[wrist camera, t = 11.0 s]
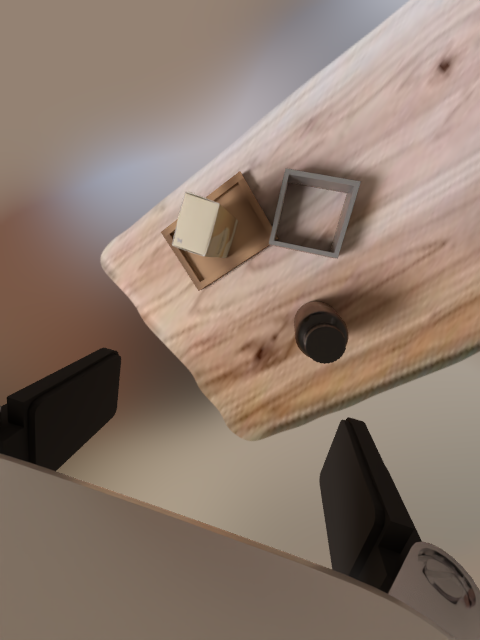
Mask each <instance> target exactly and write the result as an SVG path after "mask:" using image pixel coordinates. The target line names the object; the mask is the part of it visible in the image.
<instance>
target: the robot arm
mask: <svg viewBox="0 0 480 640" xmlns="http://www.w3.org/2000/svg"><path fill="white" fill-rule="evenodd" d="M120 365H121V357H120V356H119V355H118V352H117V351H114V350H111V349H107V348H102V349H99V350H97V351H95V352H93V353H91V354H89V355H88V356H86V357H84V358H82V359H80V360H78V361H76V362H74V363H72V364H70V365H68V366H66V367H64V368H62V369H60V370H58V371H56V372H54V373H53V374H50V375H49V376H47V377H45V378H43V379H41V380H39V381H37V382H35V383H33V384H31V385H29V386H27V387H25V388H23V389H21V390H19V391H17V392H15V393H13V394H12V395H10V396H8V397H7V404H5V405H3V406H0V640H480V590H479V588H478V587H477V585H476V584H475V582H474V581H473V579H472V577H471V576H470V575H469V574H468V573H467V572H466V570H465V569H464V568H463V567H462V566H461V565H460V564H459V563H458V562H457V561H456V560H455V559H454V558H453V557H452V556H450V555H449V554H448V553H446V552H445V551H443V550H442V549H440V548H439V547H437V546H435V545H433V544H430V543H426V542H422V541H421V539H420V537H419V535H418V533H417V530H416V528H415V526H414V524H413V522H412V520H411V518H410V516H409V514H408V512H407V509H406V507H405V505H404V503H403V501H402V499H401V497H400V495H399V492H398V490H397V488H396V486H395V484H394V482H393V480H392V478H391V476H390V473H389V471H388V470H387V468H386V466H385V465H384V463H383V461H382V458H381V456H380V454H379V452H378V450H377V448H376V446H375V443H374V441H373V439H372V437H371V435H370V433H369V431H368V429H367V427H366V424H365V423H364V422H363V421H359V420H356V419H352V418H347V419H346V420H341V422H340V424H339V427H338V429H337V432H336V435H335V437H334V439H333V442H332V445H331V447H330V450H329V452H328V455H327V458H326V460H325V463H324V466H323V468H322V470H321V473H320V489H321V496H322V503H323V509H324V516H325V522H326V529H327V536H328V543H329V549H330V556H331V563H332V569H329V568H326V567H323V566H321V565H318V564H316V563H313V562H310V561H308V560H305V559H303V558H300V557H297V556H295V555H292V554H289V553H287V552H284V551H281V550H278V549H275V548H273V547H269V546H267V545H264V544H261V543H259V542H256V541H253V540H250V539H248V538H244V537H242V536H239V535H236V534H234V533H231V532H228V531H225V530H222V529H220V528H217V527H214V526H211V525H208V524H206V523H203V522H200V521H197V520H194V519H191V518H188V517H186V516H183V515H180V514H177V513H174V512H171V511H169V510H166V509H163V508H160V507H157V506H154V505H152V504H149V503H145V502H143V501H140V500H137V499H134V498H132V497H128V496H126V495H123V494H120V493H117V492H114V491H111V490H108V489H106V488H103V487H100V486H97V485H94V484H91V483H88V482H85V481H82V480H79V479H76V478H74V477H71V476H68V475H65V474H62V473H59V472H56V470H57V469H59V468H60V467H61V466H62V465H63V464H64V463H65V462H66V461H67V460H68V459H69V458H70V457H71V456H72V455H73V454H74V453H75V452H76V451H77V450H79V449H80V448H81V447H82V446H83V445H84V444H85V443H86V442H87V441H88V440H89V439H90V438H91V437H92V436H93V435H95V434H96V433H97V432H98V431H99V430H100V429H101V428H102V427H103V426H104V425H105V424H106V423H107V422H108V421H109V420H110V419H111V418H112V417H113V416H114V415H115V413H116V409H117V400H118V389H119V376H120Z"/></svg>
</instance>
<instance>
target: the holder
mask: <svg viewBox="0 0 480 640" xmlns="http://www.w3.org/2000/svg"><path fill="white" fill-rule="evenodd" d="M288 183H294V184H300V185H305V186H311V187H316V188H322V189H327V190H333V191H338V192H344V193H347V195H346V199H345V202H344V205H343V209H342V212H341V216H340V219H339V223H338V226H337V229H336V233H335V236H334V240H333V243H332V247H331V250H330V252H327V251H322V250H317V249H312V248H307V247H303V246H298V245H293V244H288V243H283V242H278V241H275V237H276V234H277V230H278V226H279V221H280V217H281V213H282V208H283V204H284V200H285V195H286V191H287V187H288ZM360 183H361V181H355V180H349V179H344V178H338V177H332V176H326V175H321V174H315V173H309V172H303V171H298V170H292V169H285V173H284V178H283V182H282V187H281V191H280V196H279V200H278V204H277V209H276V213H275V218H274V222H273V227H272V231H271V236H270V240H269V245H272V246H277V247H282V248H286V249H291V250H296V251H301V252H306V253H310V254H315V255H320V256H325V257H330V258H338V256H339V252H340V249H341V246H342V242H343V239H344V236H345V232H346V229H347V226H348V222H349V219H350V216H351V212H352V209H353V206H354V202H355V199H356V196H357V193H358V189H359V186H360Z"/></svg>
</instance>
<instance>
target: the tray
mask: <svg viewBox="0 0 480 640" xmlns="http://www.w3.org/2000/svg"><path fill="white" fill-rule="evenodd" d="M206 198H207V199H210V200H212V201H215V202H217V203H219V204H220V205H221V206H223V207H224V208H225V209H226V210H227V211H228V212H229V213H230V214H231V215H232V216H234V217H235V218H236V219H237V220H238V223H237V226H236V230H235V234H234V237H233V240H232V244H231V247H230V250H229V252H228V255H227V258H217V257H204V256H200V255H197V254H194V253H191V252H188V251H185V250H183V249H180V248H177V247H175V246H172V242H173V237H174V233H175V229H176V225H177V220H178V219H177V220H176V221H175V222H173V223H172V224H171V225H169V226H168V227H167V228H166V229H164V230H163V231H162V232H161V233H162V234H163V236H164V238H165V239H166V241H167V242H168V244H169V245H170V247H171V248H172V250H173V252H174V253H175V255H176V256H177V258H178V259H179V261H180V262H181V264H182V266H183V267H184V269H185V270H186V272H187V273H188V275H189V277H190V278H191V280H192V281H193V283H194V284H195V286H196V287H197V289H198V291H199V290H201V289H203V288H204V287H206V286H207V285H209V284H211V283H212V282H214V281H215V280H217V279H218V278H220V277H221V276H223V275H224V274H226V273H227V272H229V271H231V270H232V269H234V268H235V267H237V266H238V265H240V264H241V263H243V262H244V261H246V260H247V259H249V258H250V257H252V256H254V255H255V254H257V253H258V252H260V251H261V250H263V249H264V248H266V247H267V246H269V240H270V236H271V231H272V226H271V224H270V222H269V220H268V219H267V217H266V215H265V214H264V212H263V210H262V208H261V207H260V205H259V203H258V201H257V200H256V198H255V196H254V195H253V193H252V191H251V189H250V188H249V186H248V184H247V182H246V181H245V179H244V177H243V176H242V174H241V172H238V173H237V174H236V175H234V176H233V177H232V178H231V179H229V180H228V181H227V182H225V183H224V184H223V185H221V186H220V187H219V188H218V189H216V190H215V191H214V192H212V193H211V194H210V195H208V196H207V197H206ZM278 239H279V238H278V236H277V234H276V237H275V241H277V240H278Z"/></svg>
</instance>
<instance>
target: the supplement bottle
mask: <svg viewBox="0 0 480 640" xmlns="http://www.w3.org/2000/svg"><path fill="white" fill-rule="evenodd" d="M294 328H295V339H296V343H297V345H298V347H299V349H300V350H301V351H302V352H303V353H304V354H305V355H306V356H308V357H310V358H312V359H313V360H314V361H316V362H320V363H324V364H325V363H330V362H334V361H337V359H340V357H341V356H342V355H343V353H344V351H345V349H346V348H345V347H346V344H347V342H348V329H347V326H346V324H345V322H344V321H343V320H342V318H341V317H340V316H339V315H338V314H337V312H336V311H335V310H334V309H333V308H332V307H331V306H330V305H328V304H326V303H324V302H319V301H313V302H309V303H306V304H305V305H303V306H302V307H301V308H300V309H299V310H298V311H297V313H296V315H295V319H294Z"/></svg>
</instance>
